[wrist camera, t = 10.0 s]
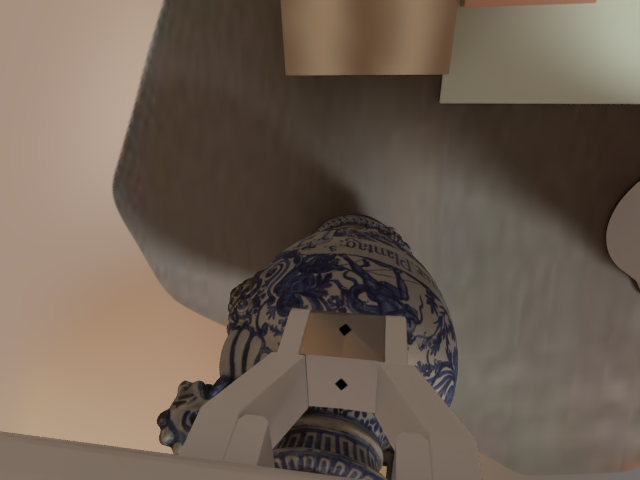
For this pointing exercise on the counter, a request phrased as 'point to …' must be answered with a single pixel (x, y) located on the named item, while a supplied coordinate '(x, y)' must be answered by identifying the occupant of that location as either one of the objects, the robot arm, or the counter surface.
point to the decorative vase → (336, 296)
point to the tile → (518, 2)
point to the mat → (546, 54)
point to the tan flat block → (368, 36)
